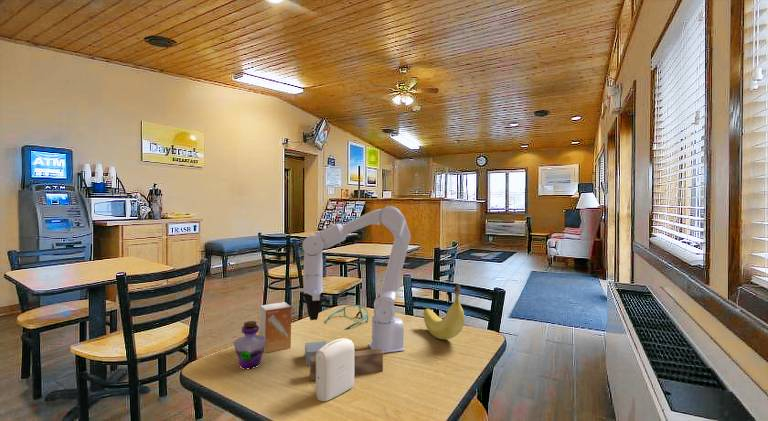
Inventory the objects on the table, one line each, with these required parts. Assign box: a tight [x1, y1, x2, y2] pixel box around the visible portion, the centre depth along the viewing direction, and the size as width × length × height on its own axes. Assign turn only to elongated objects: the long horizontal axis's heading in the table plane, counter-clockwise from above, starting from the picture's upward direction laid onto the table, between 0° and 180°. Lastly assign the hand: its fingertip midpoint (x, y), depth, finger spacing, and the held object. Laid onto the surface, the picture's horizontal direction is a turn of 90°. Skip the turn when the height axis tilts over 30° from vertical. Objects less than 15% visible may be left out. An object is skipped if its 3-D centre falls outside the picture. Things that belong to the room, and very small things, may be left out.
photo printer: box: [315, 338, 355, 402], centre depth 90 cm, size 10×4×12 cm, turn 140°
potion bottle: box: [233, 320, 267, 370], centre depth 104 cm, size 9×9×12 cm
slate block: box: [304, 340, 327, 367], centre depth 108 cm, size 6×7×4 cm
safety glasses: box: [324, 304, 369, 331], centre depth 142 cm, size 14×15×5 cm
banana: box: [422, 284, 465, 340], centre depth 126 cm, size 23×6×20 cm, turn 22°
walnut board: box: [309, 349, 384, 382], centre depth 100 cm, size 19×3×5 cm, turn 108°
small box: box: [259, 301, 292, 354], centre depth 116 cm, size 8×6×13 cm
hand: (312, 318), depth 116 cm, fingers open, 3 cm apart
